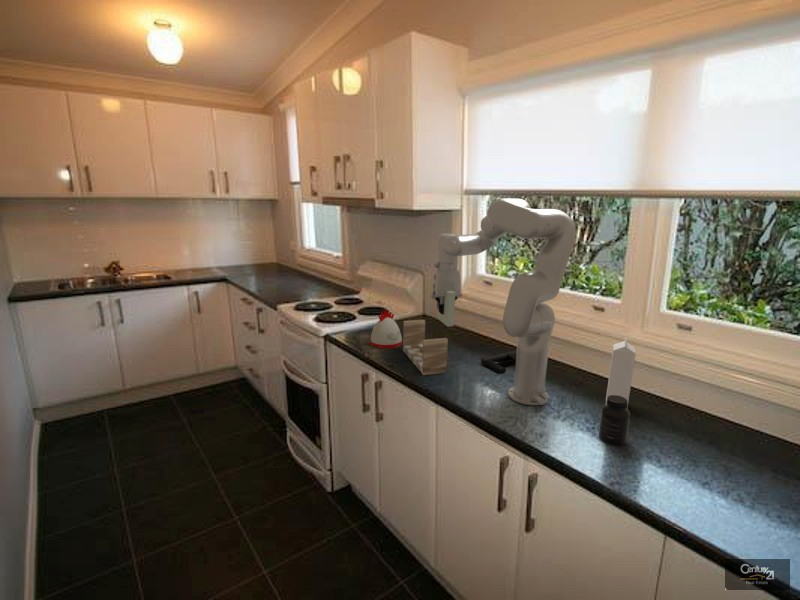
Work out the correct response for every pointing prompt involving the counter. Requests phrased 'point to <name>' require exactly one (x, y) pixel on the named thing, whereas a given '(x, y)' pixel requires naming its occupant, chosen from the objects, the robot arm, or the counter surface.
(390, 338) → the kitchen timer
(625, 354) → the milk
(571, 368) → the counter surface
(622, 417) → the supplement bottle
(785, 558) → the counter surface
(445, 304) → the door panel
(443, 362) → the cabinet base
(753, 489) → the counter surface
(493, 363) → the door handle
